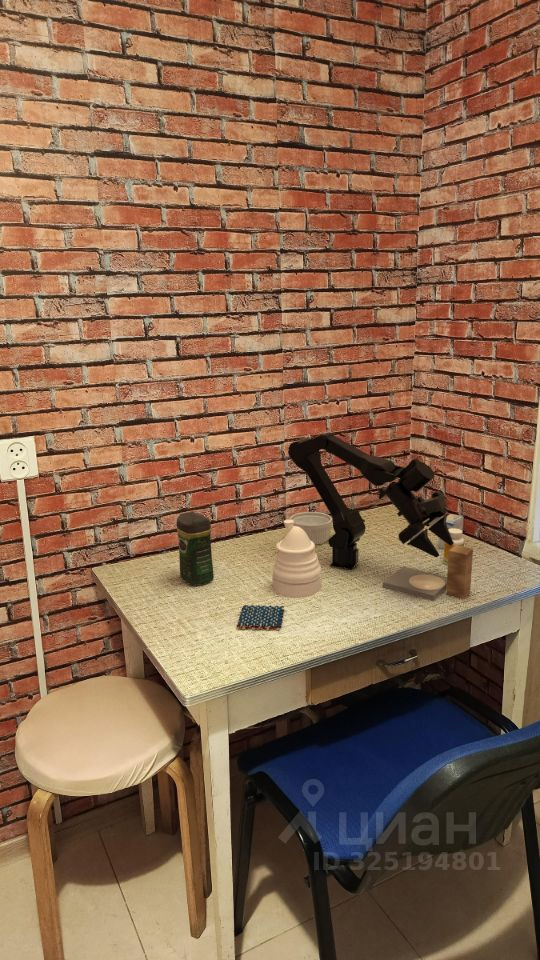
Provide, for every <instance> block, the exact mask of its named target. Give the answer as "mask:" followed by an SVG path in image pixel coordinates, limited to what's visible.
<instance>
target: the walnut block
mask: <svg viewBox="0 0 540 960" xmlns="http://www.w3.org/2000/svg"><path fill="white" fill-rule="evenodd" d="M473 556H474V549H473V548H472V547H467V546H464V547H463V546H458V545H455V546H454V547H453V548H451V549H450V550H449V553H448V565H447V573H446V574H447V575H446V577H447V589H446V590H445V591H446V593H445V595H446V596H448V595H449V596H448V597H452V596H453V598H456V597H457V598H456V599H460V598H461V599H460V600H465V599H464V598H465V597H466V596H467V595H470V594H471V585H472V571H473ZM466 598H467V597H466Z"/></svg>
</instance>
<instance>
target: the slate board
mask: <svg viewBox="0 0 540 960" xmlns="http://www.w3.org/2000/svg"><path fill="white" fill-rule="evenodd" d="M382 588H383V589H387V590H391V591H395V592H398V593H403V594H405V595H411V596H414V597H417V598H420V597H421V599H424V598H425V599H424V600H428V601H433V602H435V600H436V599H438V598H439V597H440V596H441V595H442V593H444V592H445V591H446V590H447V576H445V575H440V574H438V573H437V574H436V573H432V572H428V571H424V570H419V569H416V568H411V567H407V566H405V565H403V566H402V567H401V568H399V569H398V570H397V571H395V572H393V574H391V575H390V576H389V577H387V578H386V579H385V580H383V581H382ZM439 595H440V596H439ZM438 596H439V597H438Z"/></svg>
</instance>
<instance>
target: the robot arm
mask: <svg viewBox="0 0 540 960" xmlns="http://www.w3.org/2000/svg"><path fill="white" fill-rule="evenodd" d="M321 450H324V451H326V452H327V453H329V454H331V455H333V456H335V457H336V458H338V459H340V460H341V461H343V462H345V463H347V464H348V465H350V466H352V467H353V468H355V469H357V470H358V471H359V472H360V474H361V475H362V477H363V478H364V479H365V480H367V481H368V482H369V483H370V484H371V485H372V486H375V487H380V488H379V489H378V490H379V494H378V499H379V500H382V499H384V498H386V497H387V498H388V499H389V501H390V503H392V505H393V506H394V507H395V509H396V510H397V511H398V512H397V513H396V514H397V516H398V517H401V516H402V517H403V518H404V519H405V521H406V522H407V524H408V525H407V526H406V527H405V528H404V529H402V530H401V531H400V532H399V533H398V540H399V542H400V543H401V544H402V545H405V544H406V545H407V546H411V547H414V548H416V549H418V550H420V551H422V552H425V553H426V554H428V555H430V556H432V557H433V558H438V557H439V556H440V552H439V551H438V549H437V548H436V546H434V544H433V542H432V541H431V539H430V538H429V537H428V533H429V531H430V532H431V533H432V534H434V535H435V536H436V537H438V538H440V539H442V540H443V541H444V542H446V543H447V544H448V545H450V546H451V545H453V544H454V542H453V540H452V537H451V535H450V533H449V530H448V528H447V525H446V520H447V516H448V515H449V514H448V512H449V510H448V509H447V507H448V504H447V502H446V500H448V497H447V496H446V495H445V494H444V493H442V491H440V490H437V491H435V492H433V493H431V497H429V498H427V499H424V497H423V496H418V497H417V496H416V495H415V494H414V492H415V493H418V492H419V491H421V490H422V489H423V488H424V487H425V486H427V485H428V484H429V483H430V482H431V481H432V480H433V479H434V478H435V473H434V470H433V469H432V468H431V466H430V465H429V464H427V463H425V462H423V461H420V460H419V458H417V457H416V458H413V459H412V460H411V461H410V462H409V463H408V464H407V465H406V466H405V467H404V466H400V465H396V464H395V463H394V462H393V461H392V460H390V459H386V458H385V457H384V458H383V457H380V456H377V455H376V456H375V455H371V454H368V453H366V452H364V451H362V450H361V449H359V448H357V447H355V446H354V445H352V444H350V443H349V442H346V441H345V440H343V439H342V438H340V437H338V436H336V435H335V434H334V433H333V432H330V431H329V432H328V431H327V432H325V433H322V434H319V435H318V436H316V437H313V438H310V437H305V438H304V437H303V438H301V439H298V440H295V441H293V442H291V443H290V444H289V446H288V450H287V454H288V456H289V458H290V460H291V461H292V462H293V463H294V464H295V466H296V467H298V468H299V469H300V470H302V471H304V472H305V474H307V477H308V478H309V480H310V481H311V483H312V484H313V487H314V489H315V490H316V492H317V493H318V495H319V496H320V499H321V500H322V502H323V503H324V505H325V507H326V508H327V510H328V511H329V513H330V516H331V518H332V529H333V531H334V534H333V535H331V536H330V537H329V539H328V540H327V542H328V546H329V547H330V548H331V549H332V553H331V554H332V555H331V556H332V557H331V561H332V562H331V563H330V564H329V566H330V567H331V568H337V569H344V570H350V571H351V570H354V568H355V567H356V566H357V564H358V563H359V557H360V556H359V555H360V554H359V552H360V551H359V548H358V547H357V546H358V543H357V542H359V541H360V539H361V537H362V536H364V535H365V534H366V533H365V532H366V529H367V528H366V524H365V522H366V520H365V519H364V518H363V517H362V516H361V514H360V511H359V510H358V509H357V508H356V509H354V510H351V509H350V508H349V507H348V506H347V505H346V503H345V501H344V500H343V498H342V496H341V495H340V493H339V491H338V490H337V488H336V486H335V485H334V482H333V481H332V479H331V478H330V476H329V475H328V473H327V471H326V470H325V467H324V466H323V464H322V458H321V457H322V456H321ZM398 479H399V480H398ZM396 480H398V481H396ZM387 483H389V484H388V485H386V486H383V485H385V484H387ZM445 514H446V515H445ZM425 527H428V528H425Z"/></svg>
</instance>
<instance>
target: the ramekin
mask: <svg viewBox="0 0 540 960" xmlns="http://www.w3.org/2000/svg"><path fill="white" fill-rule="evenodd" d="M289 520H293V521H294V524H293V526H298V527H300V528H302V529H303V530H304V531H305V533H306V534H307V536H308V537H309V539H310V541H312V542H313V543H314V544H315V546H316V545H321V544H324V543H327V542H328V539H329V538H330V537H331V529H332V525H333V522H332V515H329V514H326V513H323V512H320V511H319V512H318V511H305V512H304V511H302V512H297V513H295V514H292V515H291V516H290V517H289Z"/></svg>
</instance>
